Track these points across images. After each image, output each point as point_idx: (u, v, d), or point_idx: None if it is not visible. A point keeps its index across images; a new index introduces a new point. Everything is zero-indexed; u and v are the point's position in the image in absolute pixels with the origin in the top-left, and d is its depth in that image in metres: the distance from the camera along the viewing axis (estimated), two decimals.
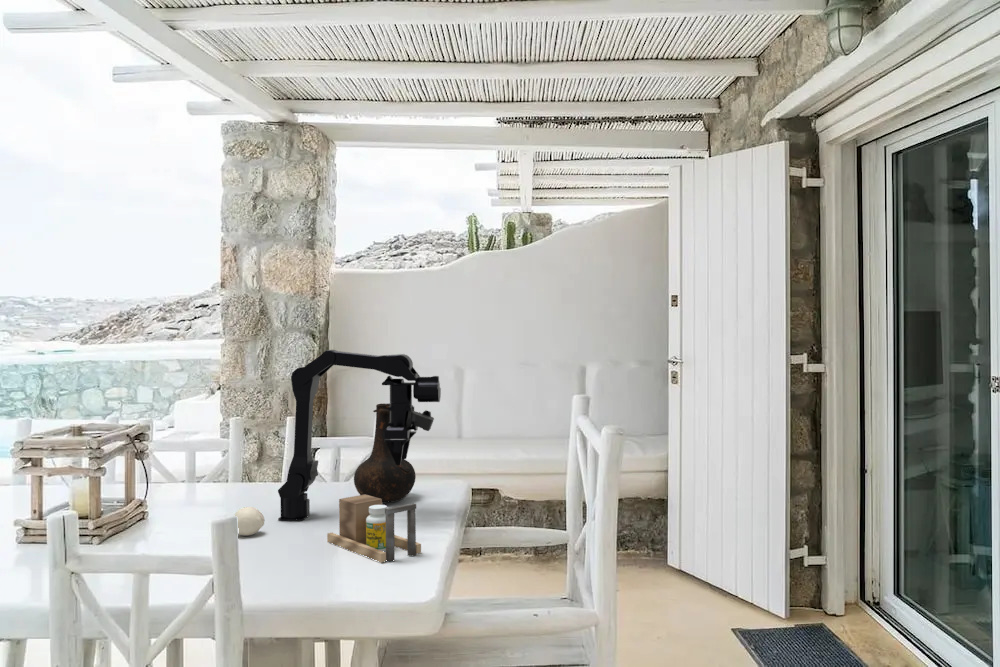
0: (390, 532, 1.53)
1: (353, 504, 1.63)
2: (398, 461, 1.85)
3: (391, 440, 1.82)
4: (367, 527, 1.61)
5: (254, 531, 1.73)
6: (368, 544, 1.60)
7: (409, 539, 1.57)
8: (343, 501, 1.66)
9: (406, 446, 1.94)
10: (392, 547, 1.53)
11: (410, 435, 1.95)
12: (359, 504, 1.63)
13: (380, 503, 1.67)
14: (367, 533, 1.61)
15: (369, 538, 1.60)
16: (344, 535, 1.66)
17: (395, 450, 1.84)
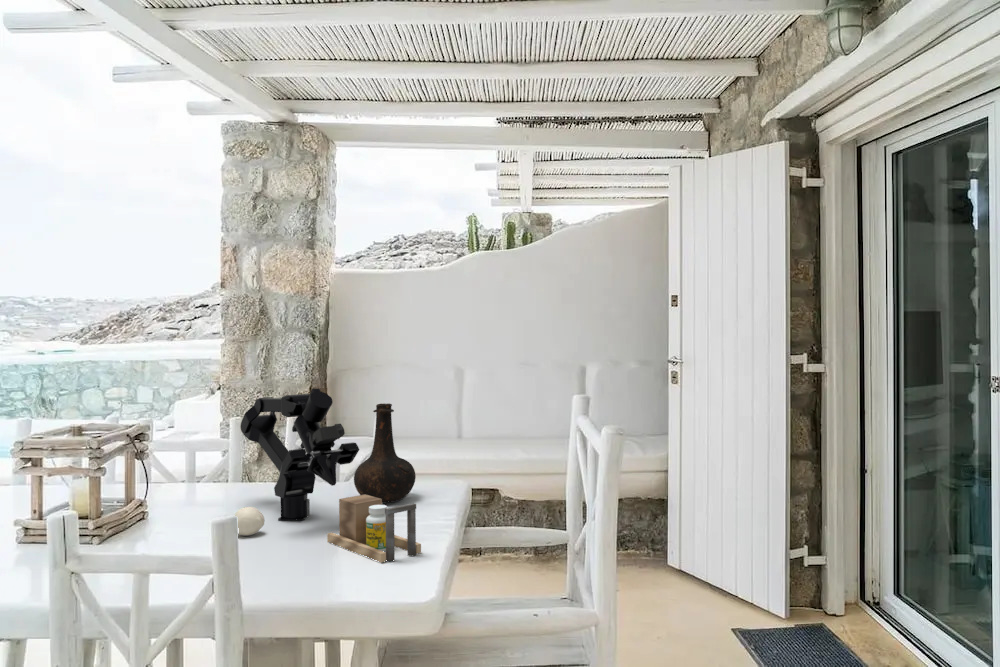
0: (390, 532, 1.53)
1: (353, 504, 1.63)
2: (330, 481, 1.76)
3: (309, 466, 1.77)
4: (367, 527, 1.61)
5: (254, 531, 1.73)
6: (368, 544, 1.60)
7: (409, 539, 1.57)
8: (343, 501, 1.66)
9: (331, 471, 1.77)
10: (392, 547, 1.53)
11: (329, 459, 1.79)
12: (359, 504, 1.63)
13: (380, 503, 1.67)
14: (367, 533, 1.61)
15: (369, 538, 1.60)
16: (344, 535, 1.66)
17: (322, 473, 1.77)
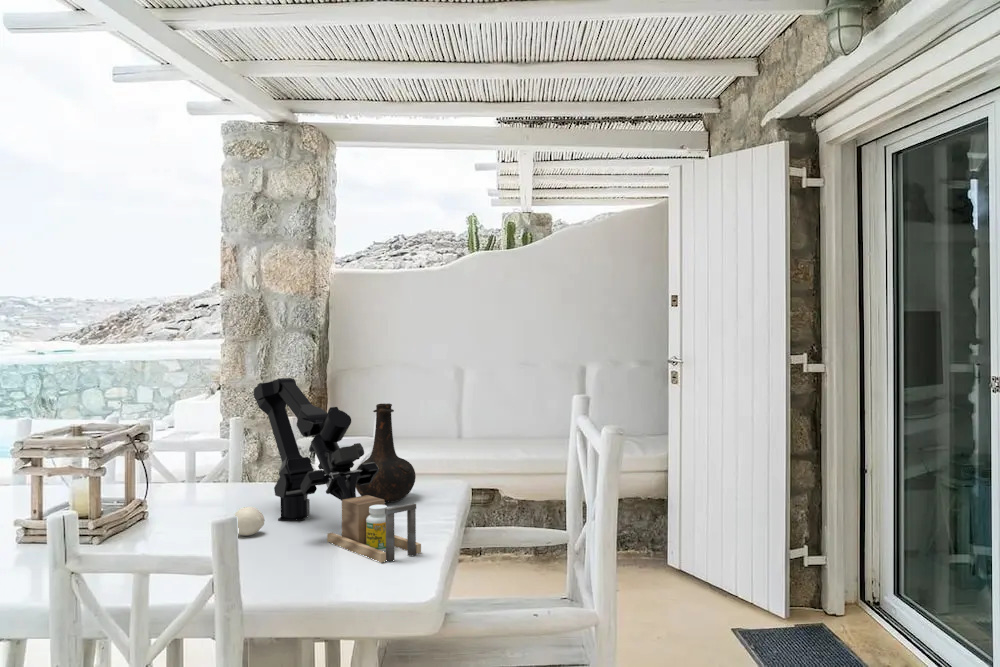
0: (390, 532, 1.53)
1: (356, 505, 1.62)
2: None
3: (328, 488, 1.71)
4: (367, 527, 1.61)
5: (254, 531, 1.73)
6: (368, 544, 1.60)
7: (409, 539, 1.57)
8: (345, 502, 1.65)
9: (350, 493, 1.71)
10: (392, 547, 1.53)
11: (349, 480, 1.72)
12: (362, 505, 1.62)
13: (383, 504, 1.66)
14: (367, 533, 1.61)
15: (369, 538, 1.60)
16: (346, 536, 1.65)
17: (342, 495, 1.71)
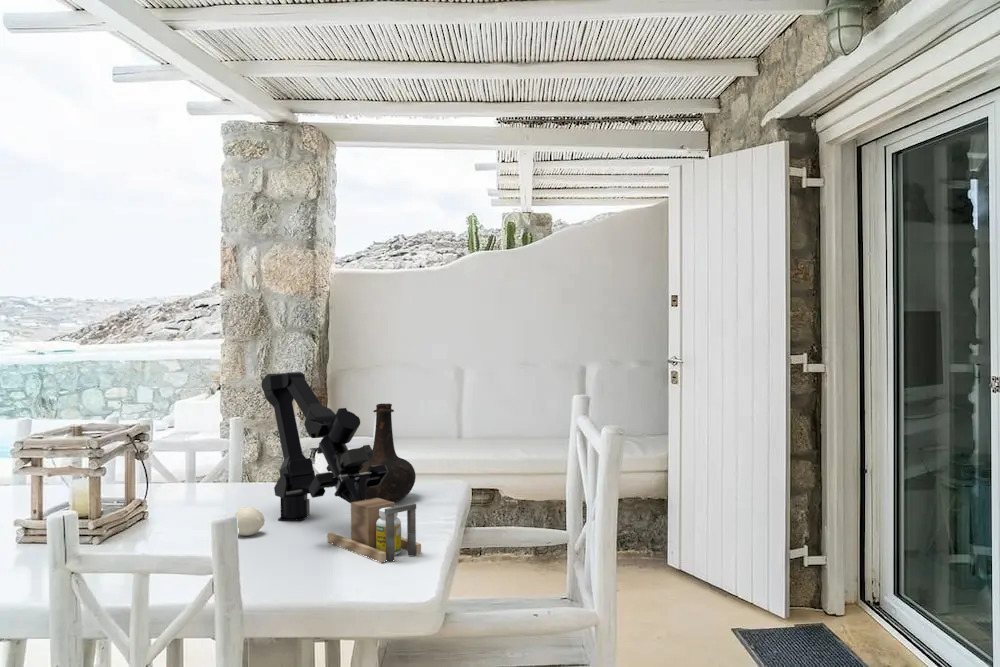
0: (390, 532, 1.53)
1: (365, 508, 1.59)
2: None
3: (337, 491, 1.68)
4: (377, 530, 1.58)
5: (254, 531, 1.73)
6: (378, 548, 1.57)
7: (409, 539, 1.57)
8: (355, 505, 1.63)
9: (359, 495, 1.68)
10: (392, 547, 1.53)
11: (358, 482, 1.69)
12: (371, 508, 1.59)
13: None
14: (377, 536, 1.58)
15: (379, 542, 1.57)
16: (356, 539, 1.62)
17: (351, 498, 1.68)
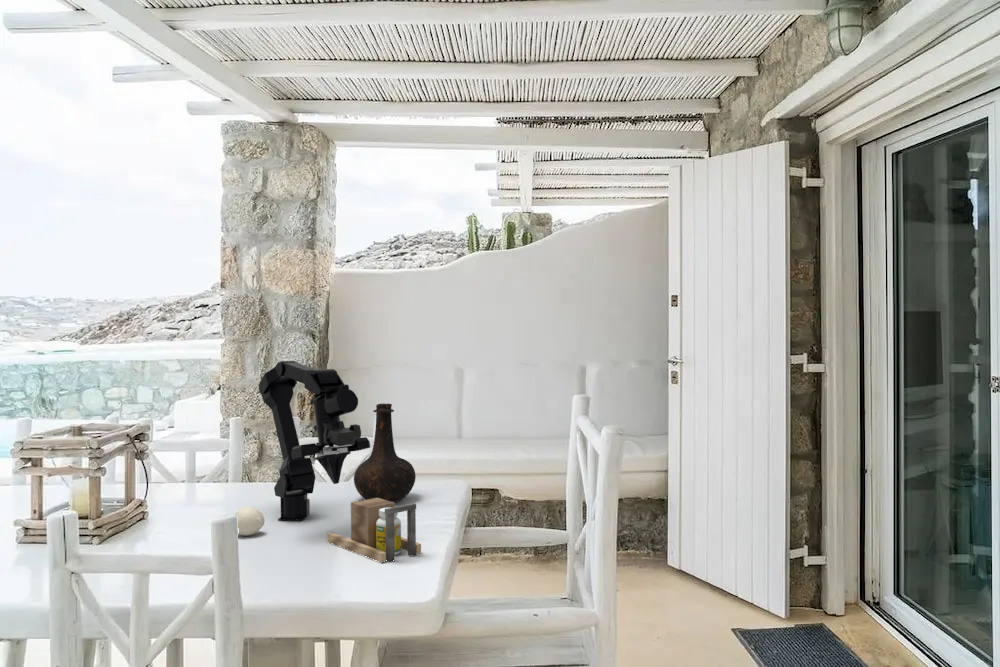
0: (390, 532, 1.53)
1: (365, 508, 1.59)
2: (333, 479, 1.75)
3: (317, 457, 1.75)
4: (377, 530, 1.58)
5: (254, 531, 1.73)
6: (378, 548, 1.57)
7: (409, 539, 1.57)
8: (355, 505, 1.63)
9: (336, 469, 1.76)
10: (392, 547, 1.53)
11: (338, 456, 1.76)
12: (371, 508, 1.59)
13: None
14: (377, 536, 1.58)
15: (379, 542, 1.57)
16: (356, 539, 1.62)
17: (327, 468, 1.75)
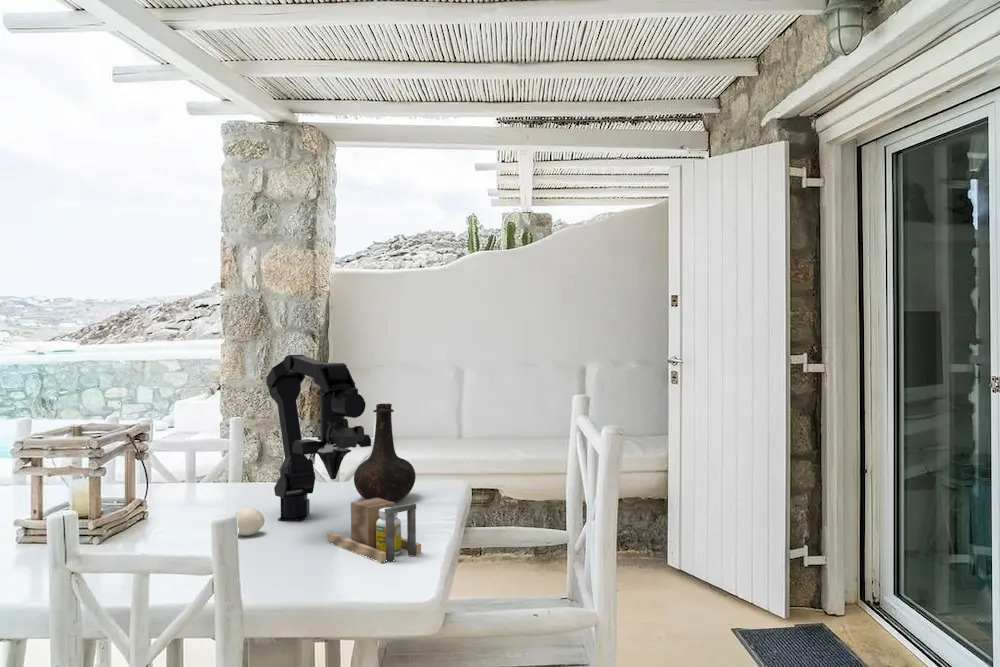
0: (390, 532, 1.53)
1: (365, 508, 1.59)
2: (330, 475, 1.76)
3: (317, 452, 1.75)
4: (377, 530, 1.58)
5: (254, 531, 1.73)
6: (378, 548, 1.57)
7: (409, 539, 1.57)
8: (355, 505, 1.63)
9: (335, 465, 1.76)
10: (392, 547, 1.53)
11: (338, 453, 1.76)
12: (371, 508, 1.59)
13: None
14: (377, 536, 1.58)
15: (379, 542, 1.57)
16: (356, 539, 1.62)
17: (326, 463, 1.76)
